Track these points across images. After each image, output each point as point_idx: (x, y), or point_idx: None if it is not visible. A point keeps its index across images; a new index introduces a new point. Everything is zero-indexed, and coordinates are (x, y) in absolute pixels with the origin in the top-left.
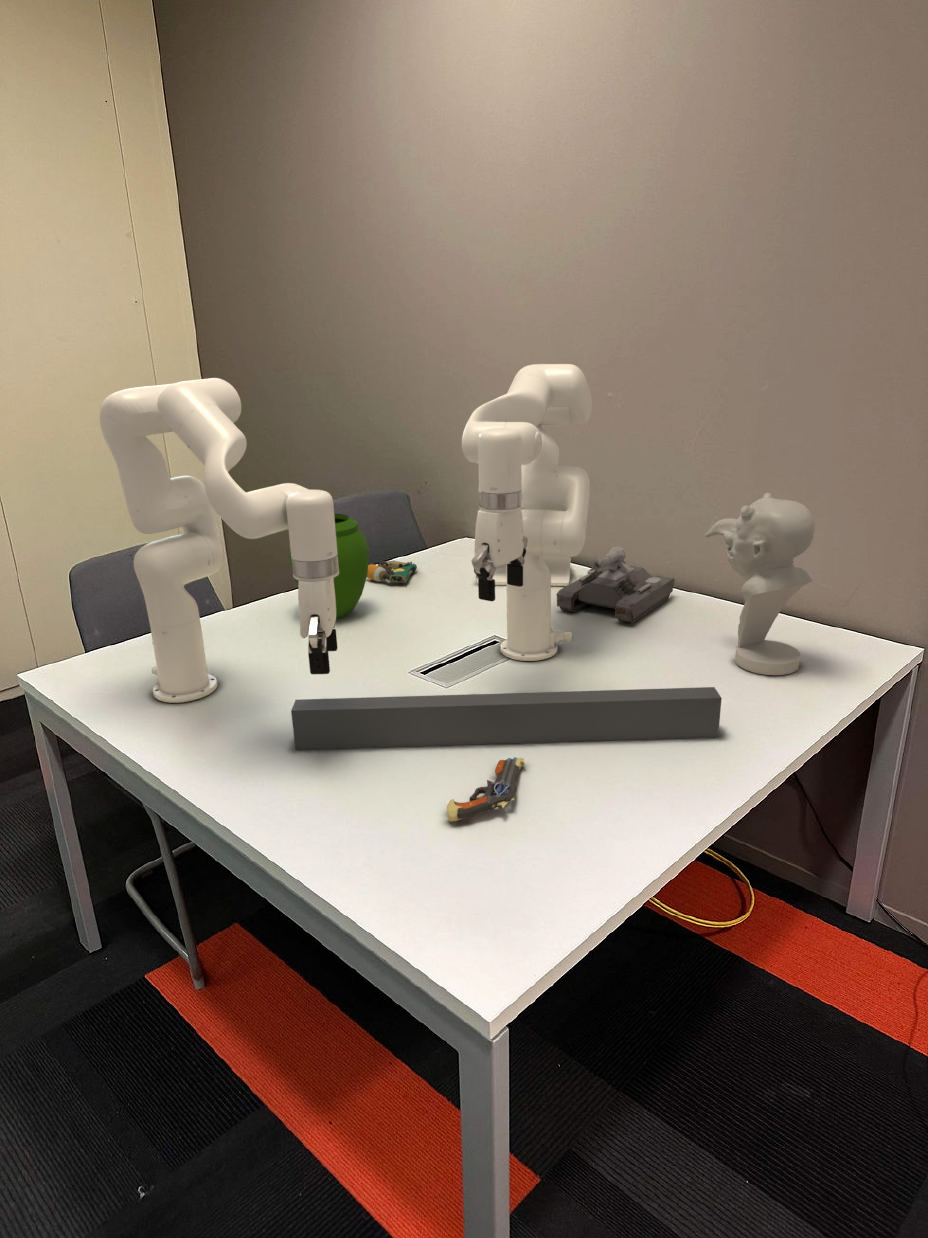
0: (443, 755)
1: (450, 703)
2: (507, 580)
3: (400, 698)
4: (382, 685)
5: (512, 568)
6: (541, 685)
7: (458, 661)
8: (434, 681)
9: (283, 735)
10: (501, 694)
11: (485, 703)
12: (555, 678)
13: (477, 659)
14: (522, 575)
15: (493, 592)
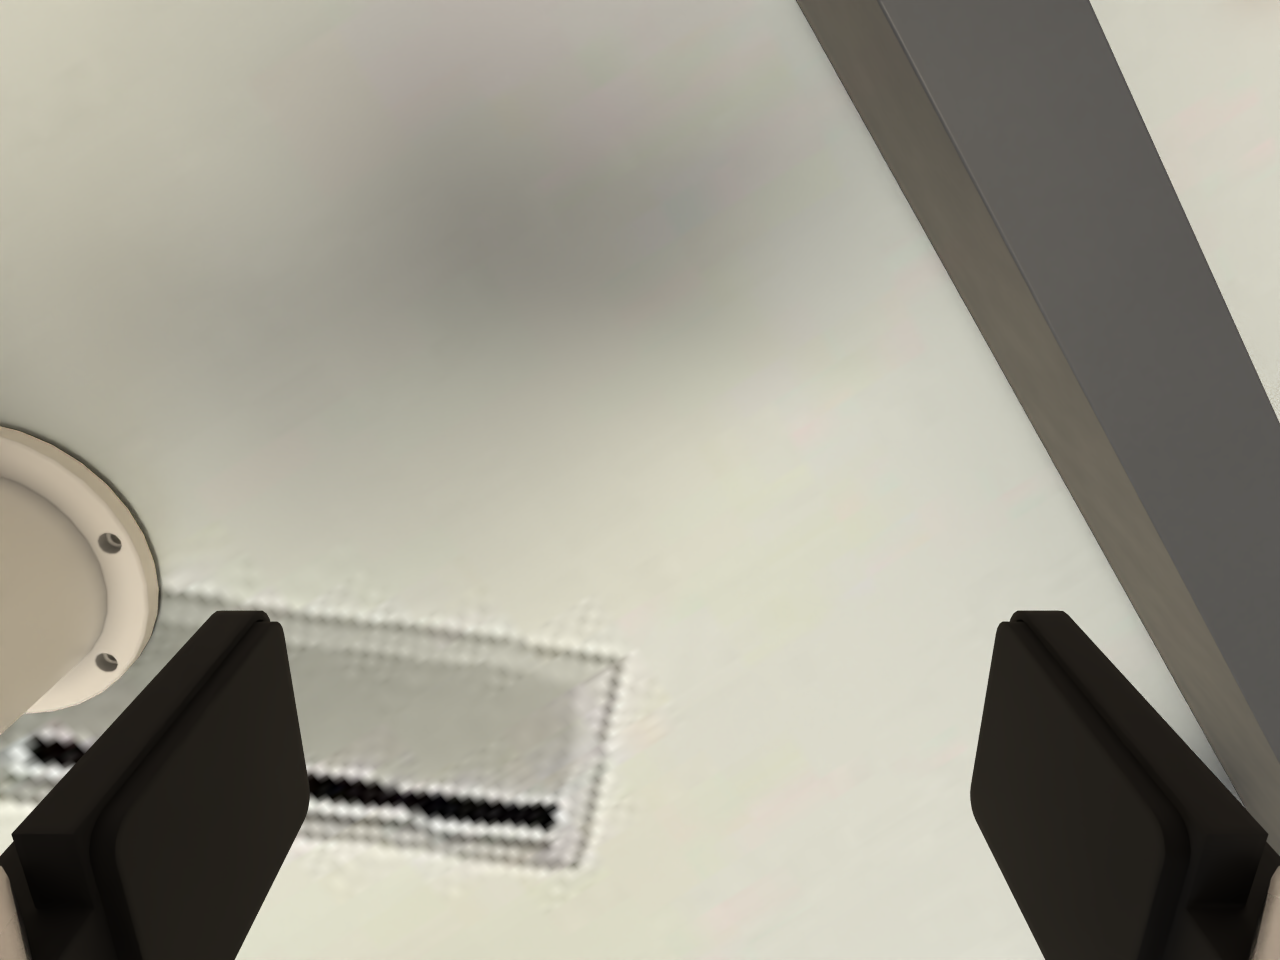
0: None
1: (1225, 392)
2: (290, 839)
3: (1251, 650)
4: (741, 876)
5: (179, 940)
6: (320, 288)
7: (348, 768)
8: (591, 737)
9: None
10: (999, 186)
11: (1157, 207)
12: (195, 265)
13: None
14: (155, 702)
15: (1125, 679)
